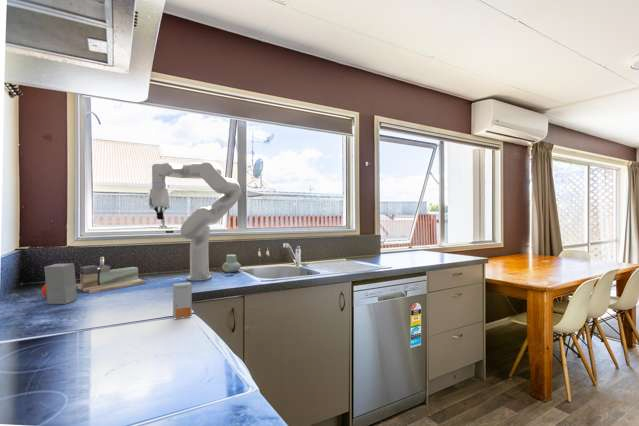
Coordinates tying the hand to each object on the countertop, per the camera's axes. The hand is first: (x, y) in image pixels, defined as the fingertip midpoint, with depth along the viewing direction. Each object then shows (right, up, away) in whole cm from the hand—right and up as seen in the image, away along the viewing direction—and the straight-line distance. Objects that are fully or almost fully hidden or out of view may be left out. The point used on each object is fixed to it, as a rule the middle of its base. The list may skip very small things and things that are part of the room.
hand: (160, 219), depth 196 cm
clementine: (-27, -33, -44) cm, 61 cm away
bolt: (-19, -25, -27) cm, 41 cm away
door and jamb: (-15, -33, -21) cm, 42 cm away
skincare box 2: (+40, -34, -70) cm, 88 cm away
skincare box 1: (-17, -34, -51) cm, 64 cm away
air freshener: (+36, -32, +15) cm, 51 cm away
